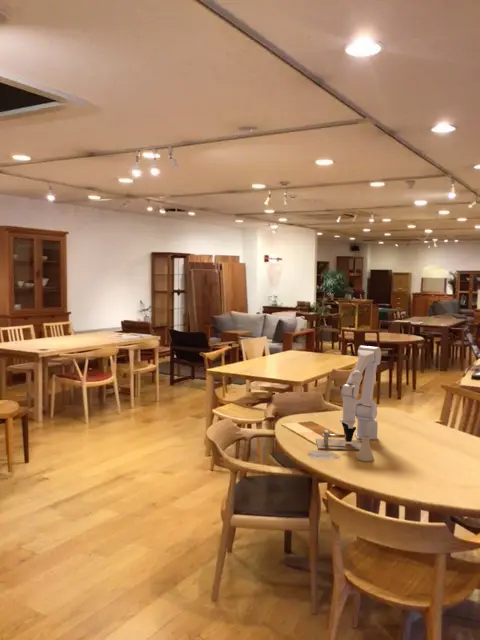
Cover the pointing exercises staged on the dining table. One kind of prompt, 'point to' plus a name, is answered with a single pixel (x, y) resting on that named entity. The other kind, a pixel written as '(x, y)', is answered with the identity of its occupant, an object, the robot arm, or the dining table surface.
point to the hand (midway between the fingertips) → (348, 439)
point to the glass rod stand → (336, 436)
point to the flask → (365, 450)
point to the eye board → (337, 444)
